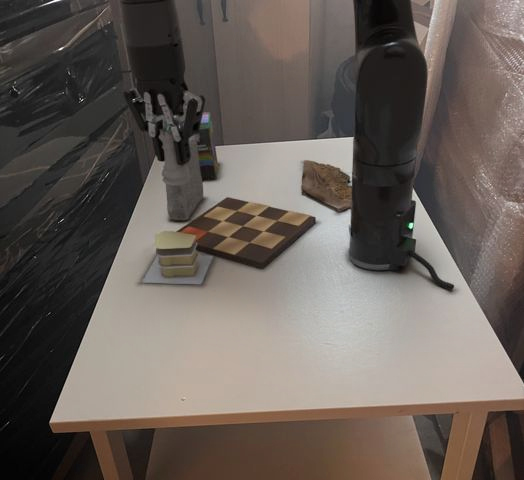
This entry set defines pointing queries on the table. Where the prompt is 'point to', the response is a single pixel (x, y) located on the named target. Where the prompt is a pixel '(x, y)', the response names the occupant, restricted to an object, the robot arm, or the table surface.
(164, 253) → the stacked layers on plate
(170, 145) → the rook chess piece
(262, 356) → the table surface
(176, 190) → the decorative stone
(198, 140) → the chalk box
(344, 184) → the wooden fragment
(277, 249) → the game board
